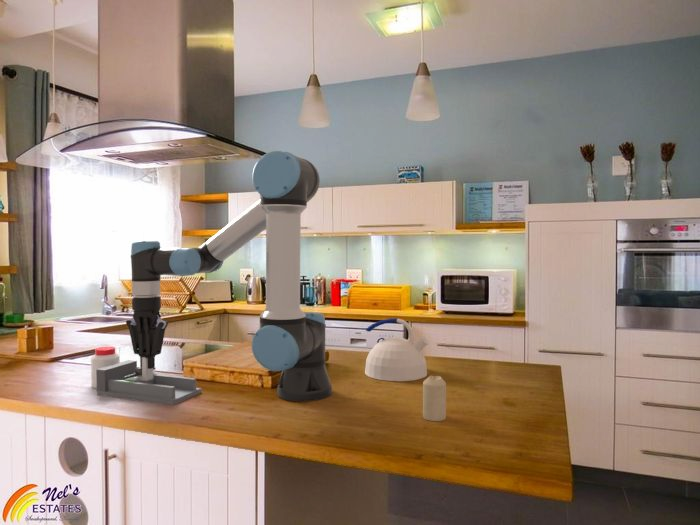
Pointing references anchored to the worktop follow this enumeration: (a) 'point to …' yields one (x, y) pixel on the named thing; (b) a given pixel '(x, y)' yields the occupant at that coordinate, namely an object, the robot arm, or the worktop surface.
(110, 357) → the pill bottle
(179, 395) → the gauge bed
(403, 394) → the worktop surface
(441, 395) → the white shouldered cylinder
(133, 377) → the slider
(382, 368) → the kettle
